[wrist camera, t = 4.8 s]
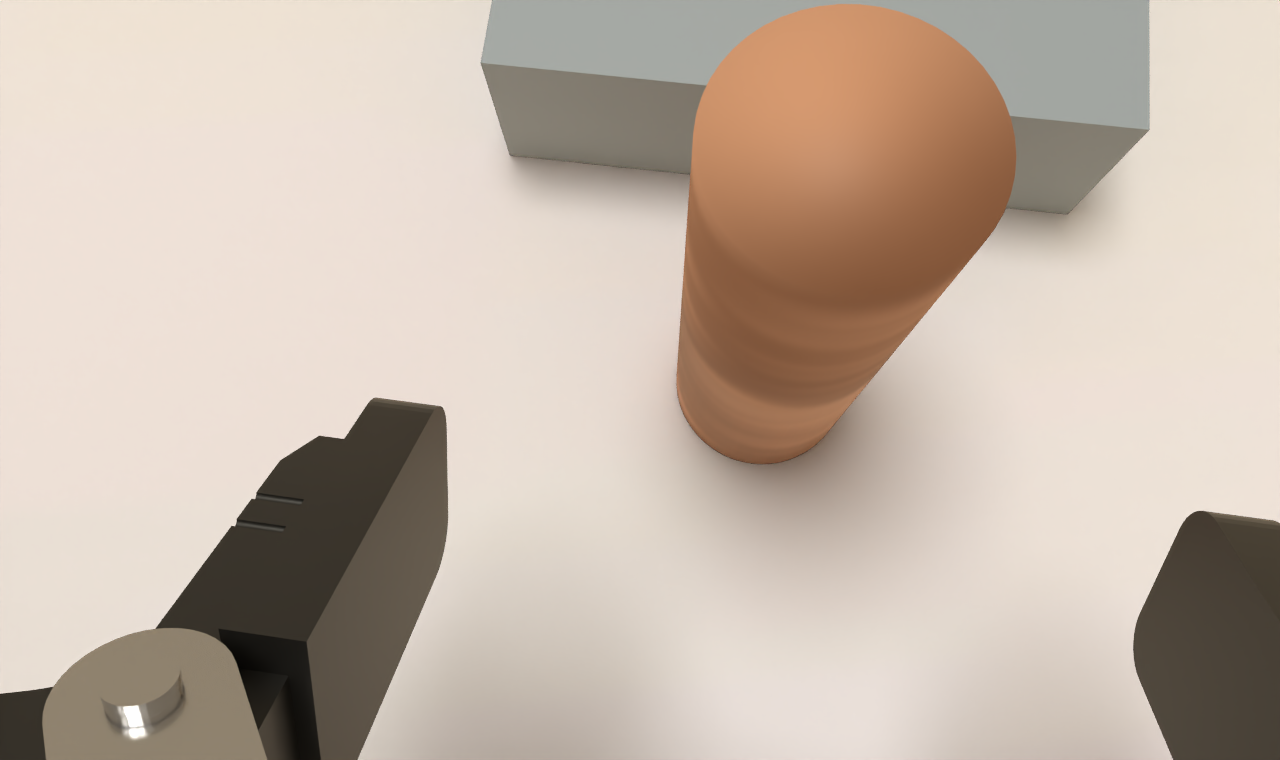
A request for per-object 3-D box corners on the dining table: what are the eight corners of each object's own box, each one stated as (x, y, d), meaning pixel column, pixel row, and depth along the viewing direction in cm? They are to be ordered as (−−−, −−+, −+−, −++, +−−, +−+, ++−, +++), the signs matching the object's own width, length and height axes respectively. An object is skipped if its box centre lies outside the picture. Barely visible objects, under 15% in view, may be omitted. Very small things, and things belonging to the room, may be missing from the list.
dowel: (644, 357, 20) (631, 100, 11) (782, 273, 21) (890, -47, 11) (736, 496, 20) (812, 357, 10) (877, 406, 20) (1082, 189, 10)
